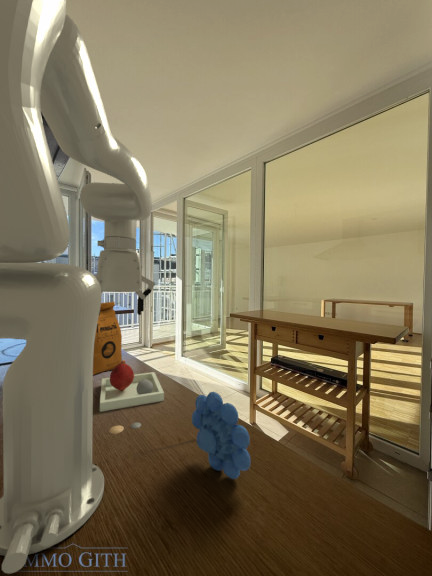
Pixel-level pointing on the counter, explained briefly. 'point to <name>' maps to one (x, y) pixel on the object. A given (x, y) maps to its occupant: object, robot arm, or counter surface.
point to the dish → (129, 393)
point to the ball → (144, 387)
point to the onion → (121, 376)
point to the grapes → (221, 435)
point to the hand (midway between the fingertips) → (119, 314)
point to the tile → (120, 428)
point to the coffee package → (107, 340)
